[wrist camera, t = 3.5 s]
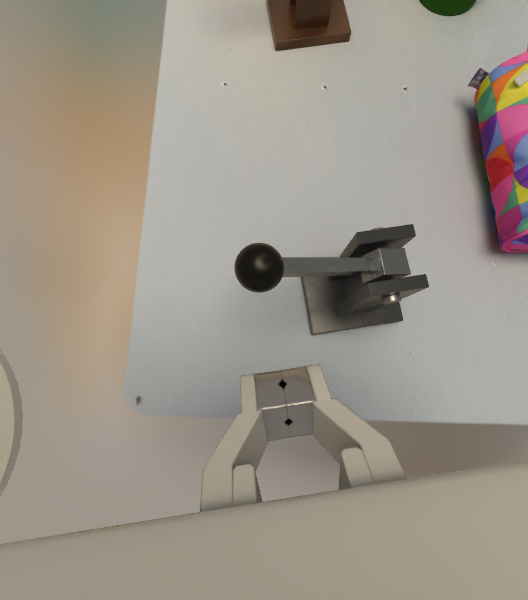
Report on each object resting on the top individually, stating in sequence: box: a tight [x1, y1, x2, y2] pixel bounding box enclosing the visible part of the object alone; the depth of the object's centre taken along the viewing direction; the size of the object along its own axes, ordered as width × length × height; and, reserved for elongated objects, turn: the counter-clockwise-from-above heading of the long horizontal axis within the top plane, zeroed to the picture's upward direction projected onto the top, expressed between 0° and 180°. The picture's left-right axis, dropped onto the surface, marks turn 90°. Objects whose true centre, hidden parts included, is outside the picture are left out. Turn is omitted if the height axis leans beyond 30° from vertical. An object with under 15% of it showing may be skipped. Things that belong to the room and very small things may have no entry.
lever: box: [235, 243, 411, 292], centre depth 23 cm, size 14×3×3 cm, turn 99°
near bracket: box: [301, 224, 429, 335], centre depth 30 cm, size 10×8×13 cm
